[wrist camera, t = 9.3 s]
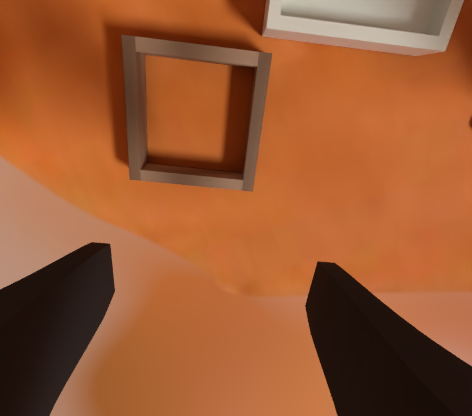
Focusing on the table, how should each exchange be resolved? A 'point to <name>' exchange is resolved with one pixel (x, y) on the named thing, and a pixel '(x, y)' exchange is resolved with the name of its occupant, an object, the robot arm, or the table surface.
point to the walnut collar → (137, 117)
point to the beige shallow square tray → (365, 23)
